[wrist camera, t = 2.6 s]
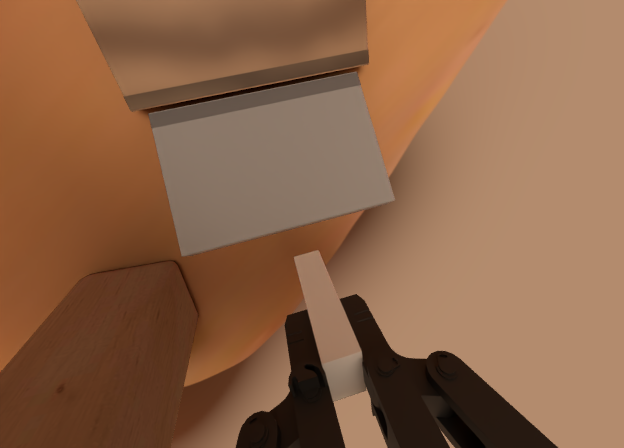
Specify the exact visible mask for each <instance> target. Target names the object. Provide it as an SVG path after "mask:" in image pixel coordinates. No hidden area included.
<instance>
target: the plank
mask: <svg viewBox="0 0 624 448" xmlns="http://www.w3.org/2000/svg"><path fill="white" fill-rule="evenodd" d="M148 115H149V119H150V123H151V128H152V131H153V135H154V139H155V144H156V148H157V152H158V156H159V161H160V165H161V169H162V174H163V178H164V182H165V187H166V191H167V195H168V199H169V204H170V208H171V212H172V217H173V221H174V225H175V229H176V234H177V238H178V242H179V247H180V251H181V255H182V256H193V255H197V254H200V253H204V252H208V251H212V250H215V249H219V248H223V247H227V246H231V245H234V244H238V243H242V242H246V241H249V240H253V239H257V238H261V237H264V236H268V235H272V234H276V233H279V232H283V231H287V230H291V229H295V228H298V227H302V226H306V225H310V224H313V223H317V222H321V221H325V220H328V219H332V218H336V217H340V216H343V215H347V214H351V213H355V212H359V211H362V210H366V209H370V208H374V207H377V206H381V205H385V204H388V203H390V202H392V201H394V200H395V198H394V195H393V191H392V188H391V185H390V181H389V178H388V175H387V171H386V168H385V165H384V161H383V158H382V155H381V151H380V148H379V145H378V141H377V138H376V135H375V131H374V128H373V125H372V121H371V118H370V115H369V111H368V108H367V105H366V101H365V98H364V95H363V92H362V88H361V84H360V81H359V77H358V74H357V72H352V73H347V74H342V75H337V76H332V77H327V78H322V79H317V80H312V81H307V82H302V83H297V84H292V85H287V86H282V87H277V88H272V89H268V90H263V91H258V92H253V93H248V94H243V95H238V96H233V97H228V98H223V99H218V100H213V101H208V102H203V103H198V104H193V105H188V106H183V107H178V108H173V109H168V110H164V111H159V112H154V113H149V114H148Z"/></svg>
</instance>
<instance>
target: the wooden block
mask: <svg viewBox="0 0 624 448" xmlns="http://www.w3.org/2000/svg"><path fill="white" fill-rule="evenodd" d="M197 320H198V313H197V311H196V308H195V306H194V304H193V301H192V299H191V296H190V294H189V292H188V289H187V287H186V284H185V282H184V280H183V277H182V275H181V273H180V270H179V268H178V265H177V264H176V263H175V262H174V261H165V262H159V263H153V264H147V265H142V266H136V267H130V268H124V269H119V270H113V271H107V272H101V273H96V274H91V275H88V276H86V277H84V278H82V279H81V280H79V282H78V283H77V284H76V285H75V286H74V287H73V289H72V290H71V291H70V292H69V293H68V294H67V296H66V297H65V298H64V299H63V300H62V301H61V303H60V304H59V305H58V306H57V307H56V308H55V309H54V311H53V312H52V313H51V314H50V315H49V316H48V318H47V319H46V320H45V321H44V322H43V323H42V325H41V326H40V327H39V328H38V329H37V330H36V332H35V333H34V334H33V335H32V336H31V337H30V339H29V340H28V341H27V342H26V343H25V344H24V346H23V347H22V348H21V349H20V350H19V351H18V352H17V354H16V355H15V356H14V357H13V358H12V359H11V361H10V362H9V363H8V364H7V365H6V366H5V368H4V369H3V370H2V371H1V372H0V448H170V447H171V443H172V438H173V433H174V428H175V424H176V419H177V414H178V410H179V405H180V400H181V396H182V390H183V386H184V381H185V377H186V372H187V367H188V363H189V358H190V353H191V349H192V344H193V339H194V334H195V330H196V325H197Z"/></svg>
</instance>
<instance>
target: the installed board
mask: <svg viewBox="0 0 624 448" xmlns="http://www.w3.org/2000/svg"><path fill="white" fill-rule="evenodd" d="M76 1H77V3H78V5H79V7H80V9H81V11H82V13H83V15H84V17H85V19H86V21H87V23H88V25H89V27H90V29H91V31H92V33H93V35H94V37H95V39H96V41H97V43H98V45H99V47H100V49H101V51H102V53H103V55H104V57H105V59H106V61H107V63H108V65H109V67H110V69H111V71H112V73H113V75H114V77H115V79H116V81H117V83H118V85H119V87H120V89H121V91H122V93H123V95H124V99H125V101H126V103H127V105H128V107H129V109H130V111H132V112H133V111H138V110H143V109H148V108H153V107H158V106H163V105H168V104H173V103H178V102H183V101H188V100H193V99H198V98H203V97H208V96H213V95H218V94H223V93H228V92H233V91H238V90H243V89H248V88H253V87H258V86H263V85H268V84H273V83H278V82H283V81H289V80H294V79H299V78H304V77H309V76H314V75H319V74H324V73H329V72H334V71H339V70H344V69H349V68H354V67H359V66H364V65H368V63H369V54H368V43H367V21H366V0H76Z"/></svg>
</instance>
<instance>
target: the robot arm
mask: <svg viewBox="0 0 624 448" xmlns="http://www.w3.org/2000/svg"><path fill="white" fill-rule="evenodd" d="M294 260H295V264H296V268H297V272H298V276H299V280H300V283H301V287H302V291H303V295H304V299H305V302H306V306H307V310H304V311H300V312H297V313H294V314H290V315H287V319H286V322H285V330H286V337H287V344H288V351H289V358H290V365H291V374H290V376H289V383H288V386H289V388H290V392H289V394H288V396H287V397H286V399H284V400H283V401H282V402H281V403H280V404H279V405H278V406H276V407H275V408H274V409H272V410H271V411H270V412H264V411H260V412H257V413H254V414H253V415H251V416H250V417H249V418H248V419H247V420H246V421H245V423H244V424H243V425H242V427H241V430H240V433H239V436H238V440H237V445H236V448H345V444H344V441H343V437H342V434H341V429H340V426H339V422H338V419H337V415H336V411H335V407H334V403H333V402H334V401H337V400H340V399H343V398H346V397H349V396H352V395H355V394H358V393H360V392H364V391H366V388H367V390H368V393H369V395H370V398H371V407H372V413H373V416H376V418H377V421H378V423H379V426H380V429H381V431H382V434H383V436H384V439H385V442H386V444H387V447H388V448H450V447H449V445H448V443H447V442H446V440H445V438H444V436H443V434H442V433H441V431H442V432H443V433H444V435H445V436H446V437H447V438H448V440H449V441H450V442H451V443H452V445H453V446H454V447H455V448H558V447H557V446H556V445H555V444H553V443H552V442H551V441H550V440H549V439H548V438H547V437H546V436H545V435H543V434H542V433H541V432H540V431H539V430H538V429H537V428H536V427H535V426H534V425H532V424H531V423H530V422H529V421H528V420H527V419H526V418H525V417H524V416H523V415H521V414H520V413H519V412H518V411H517V410H516V409H515V408H514V407H513V406H511V405H510V404H509V403H508V402H507V401H506V400H505V399H504V398H503V397H502V396H500V395H499V394H498V393H497V392H496V391H495V390H494V389H493V388H491V387H490V386H489V385H488V384H487V383H486V382H485V381H484V380H483V379H482V378H481V377H479V376H478V375H477V374H476V373H475V372H474V371H473V370H471V368H469V367H468V366H467V365H466V364H465V363H464V362H463V361H462V360H461V359H459V358H458V357H457V356H455V355H454V354H452V353H449V352H446V351H436V352H434V353H431V354H430V355H429V357H428V358H427V359H413V358H406V357H403V356H400V355H398V354H397V353H395V352H394V351H393V350H392V349H391V348H390V346H389V345H388V343H387V341H386V339H385V338H384V336H383V334H382V332H381V330H380V328H379V327H378V325H377V323H376V321H375V319H374V318H373V316H372V314H371V312H370V311H369V308H368V306H367V304H366V303H365V301H364V300H363V299H362V298H361V297H359V296H358V295H357V294H355V295H352V296H349V297H345V298H342V299H339V297H338V295H337V292H336V290H335V288H334V285H333V283H332V281H331V279H330V276H329V274H328V271H327V269H326V267H325V264H324V262H323V260H322V257H321V255H320V252H319V250H316V251H313V252H309V253H306V254H302V255H298V256H295V257H294ZM439 428H440V429H439ZM440 430H441V431H440Z"/></svg>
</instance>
